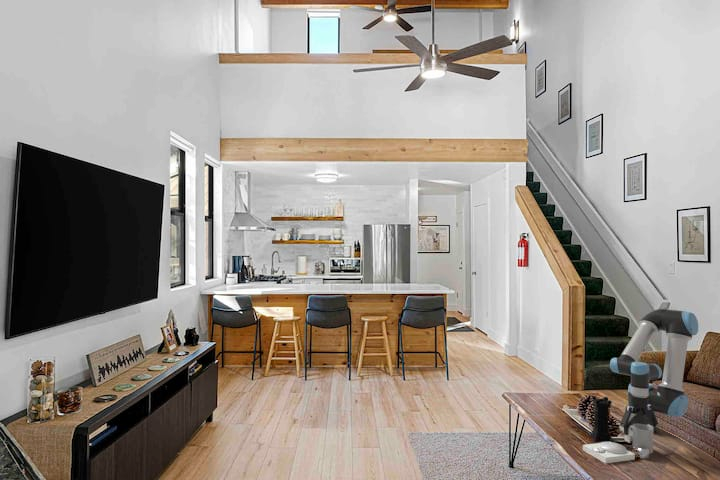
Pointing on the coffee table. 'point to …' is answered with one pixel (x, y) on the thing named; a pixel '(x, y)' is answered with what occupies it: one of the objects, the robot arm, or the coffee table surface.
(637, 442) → the mug
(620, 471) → the coffee table surface
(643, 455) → the spacer
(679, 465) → the coffee table surface
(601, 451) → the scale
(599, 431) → the chess piece
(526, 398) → the coffee table surface
